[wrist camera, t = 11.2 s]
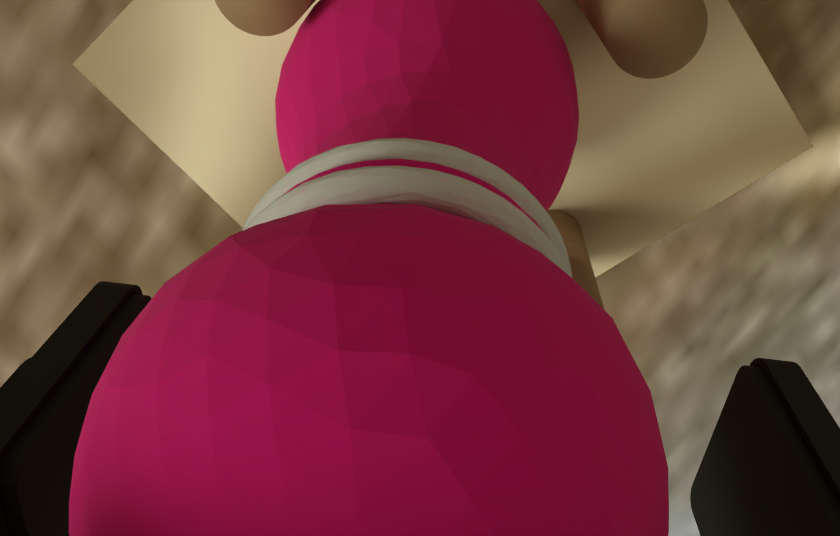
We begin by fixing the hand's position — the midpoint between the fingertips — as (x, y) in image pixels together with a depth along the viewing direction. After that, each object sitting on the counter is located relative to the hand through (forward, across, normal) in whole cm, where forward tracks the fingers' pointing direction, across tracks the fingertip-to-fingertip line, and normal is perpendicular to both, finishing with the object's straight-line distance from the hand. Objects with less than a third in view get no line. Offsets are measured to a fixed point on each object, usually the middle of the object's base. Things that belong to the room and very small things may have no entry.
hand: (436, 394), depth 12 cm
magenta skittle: (+13, +1, -2) cm, 13 cm away
